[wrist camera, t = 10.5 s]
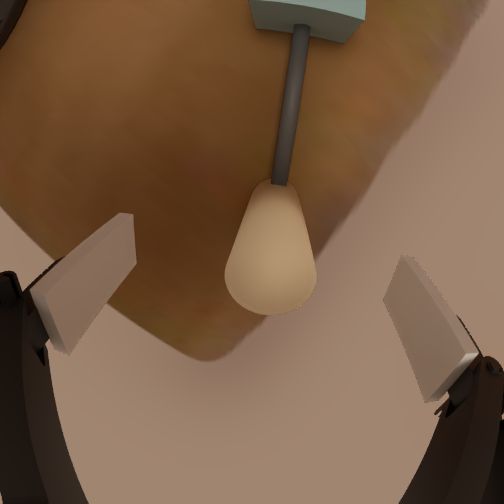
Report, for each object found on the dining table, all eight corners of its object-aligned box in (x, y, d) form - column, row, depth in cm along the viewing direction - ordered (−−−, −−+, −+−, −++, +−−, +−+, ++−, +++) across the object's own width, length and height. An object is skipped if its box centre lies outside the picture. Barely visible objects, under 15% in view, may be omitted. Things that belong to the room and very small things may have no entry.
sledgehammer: (230, 217, 24) (191, 302, 13) (266, -32, 13) (254, -117, 2) (311, 230, 23) (333, 323, 13) (348, -18, 13) (392, -91, 2)
